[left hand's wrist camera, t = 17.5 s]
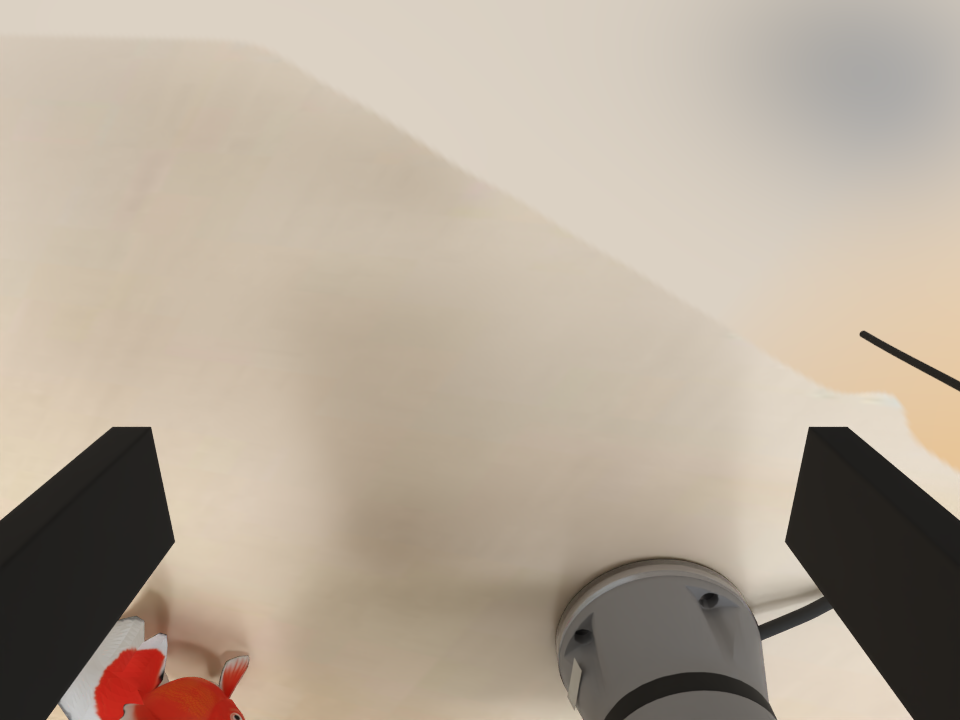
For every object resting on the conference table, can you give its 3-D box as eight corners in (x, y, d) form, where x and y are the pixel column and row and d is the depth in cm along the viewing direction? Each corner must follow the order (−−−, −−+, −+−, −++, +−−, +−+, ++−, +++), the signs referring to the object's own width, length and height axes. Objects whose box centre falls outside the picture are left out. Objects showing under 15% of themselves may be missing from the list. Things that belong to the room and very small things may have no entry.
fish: (199, 803, 49) (112, 884, 39) (80, 652, 52) (-28, 692, 42) (295, 698, 50) (233, 752, 40) (172, 555, 53) (87, 573, 43)
